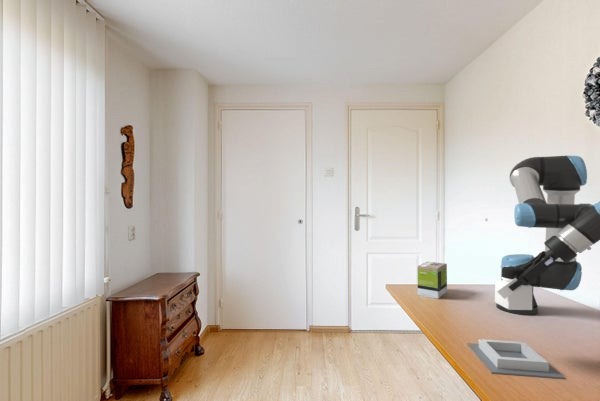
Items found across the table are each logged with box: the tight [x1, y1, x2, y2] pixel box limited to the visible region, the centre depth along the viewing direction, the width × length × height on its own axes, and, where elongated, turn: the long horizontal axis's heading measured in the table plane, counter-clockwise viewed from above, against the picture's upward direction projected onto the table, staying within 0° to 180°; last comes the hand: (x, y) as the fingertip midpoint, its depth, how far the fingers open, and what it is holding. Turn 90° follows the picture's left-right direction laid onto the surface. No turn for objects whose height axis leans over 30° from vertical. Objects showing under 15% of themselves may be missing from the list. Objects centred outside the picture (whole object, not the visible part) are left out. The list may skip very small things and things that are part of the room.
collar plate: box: [466, 338, 566, 380], centre depth 97 cm, size 18×18×4 cm
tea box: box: [417, 261, 448, 300], centre depth 164 cm, size 15×10×15 cm
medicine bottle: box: [494, 266, 532, 310], centre depth 101 cm, size 7×7×12 cm
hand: (501, 291), depth 102 cm, fingers closed on medicine bottle, 9 cm apart
